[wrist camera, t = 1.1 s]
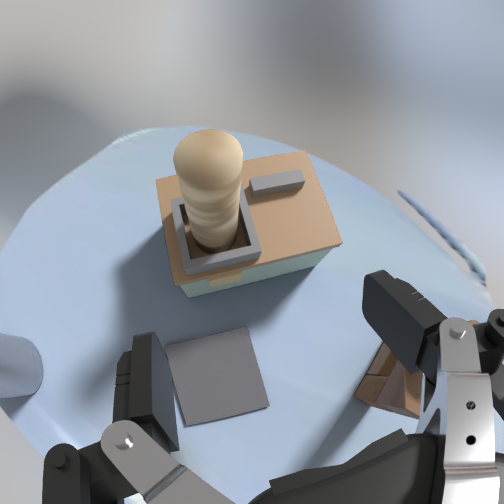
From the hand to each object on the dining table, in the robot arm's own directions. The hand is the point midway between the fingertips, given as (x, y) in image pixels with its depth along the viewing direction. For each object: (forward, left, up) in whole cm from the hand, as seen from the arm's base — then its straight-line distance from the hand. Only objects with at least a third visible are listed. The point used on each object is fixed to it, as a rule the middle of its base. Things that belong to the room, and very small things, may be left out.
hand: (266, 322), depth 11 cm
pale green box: (+4, +14, -30) cm, 33 cm away
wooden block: (+18, -9, -30) cm, 36 cm away
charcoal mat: (-4, -3, -30) cm, 30 cm away
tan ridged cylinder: (0, +12, -20) cm, 23 cm away
